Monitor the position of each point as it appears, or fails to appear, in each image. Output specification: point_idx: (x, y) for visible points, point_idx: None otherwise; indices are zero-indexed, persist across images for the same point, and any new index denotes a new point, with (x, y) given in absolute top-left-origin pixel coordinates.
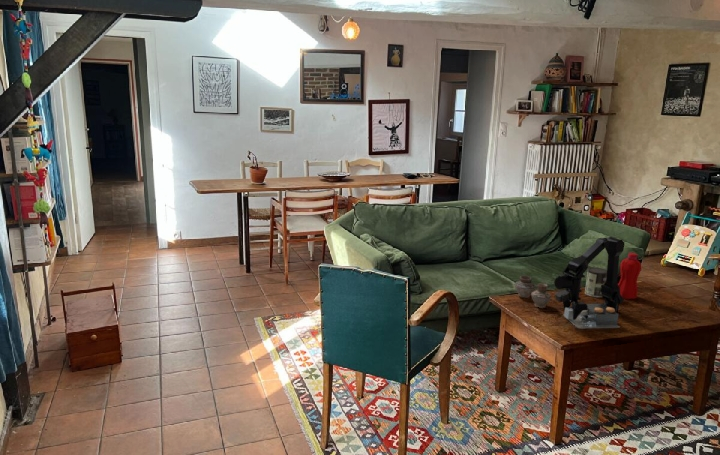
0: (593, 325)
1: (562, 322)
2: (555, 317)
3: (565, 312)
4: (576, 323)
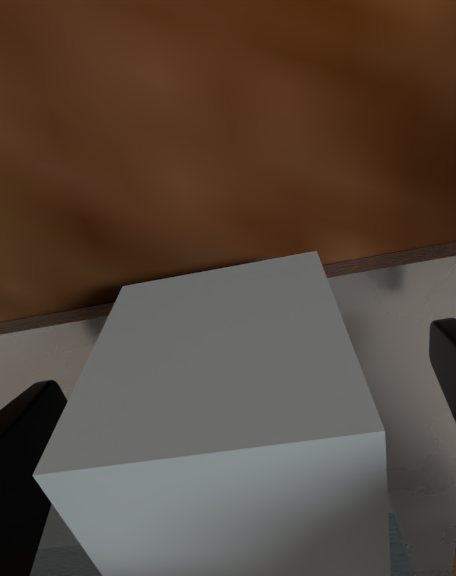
0: (43, 542)
1: (42, 128)
2: (339, 14)
3: (278, 323)
4: (20, 380)
